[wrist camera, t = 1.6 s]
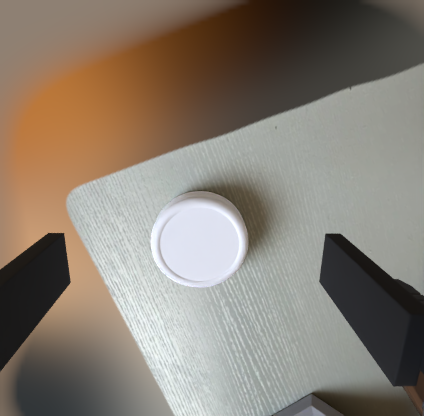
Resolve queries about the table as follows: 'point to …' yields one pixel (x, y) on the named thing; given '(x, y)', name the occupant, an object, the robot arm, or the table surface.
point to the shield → (309, 408)
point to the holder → (417, 393)
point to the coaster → (199, 239)
